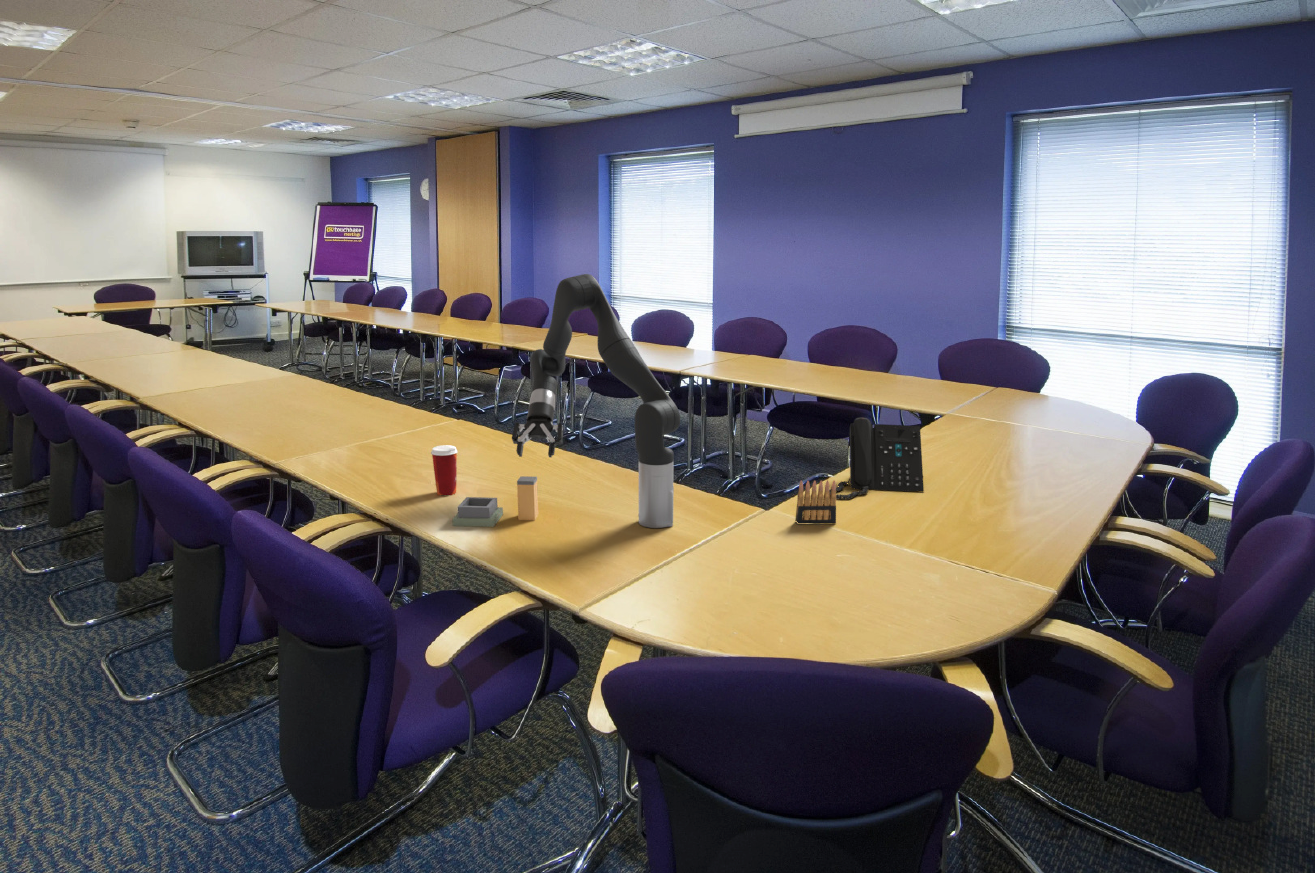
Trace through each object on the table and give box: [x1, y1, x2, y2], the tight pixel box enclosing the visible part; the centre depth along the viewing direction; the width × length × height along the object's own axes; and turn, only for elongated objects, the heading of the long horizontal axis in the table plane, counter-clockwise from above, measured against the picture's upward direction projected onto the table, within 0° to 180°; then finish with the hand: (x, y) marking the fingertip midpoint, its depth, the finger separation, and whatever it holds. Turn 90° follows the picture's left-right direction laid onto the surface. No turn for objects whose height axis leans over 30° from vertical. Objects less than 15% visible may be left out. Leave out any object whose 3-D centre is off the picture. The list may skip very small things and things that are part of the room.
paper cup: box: [430, 444, 458, 496], centre depth 239 cm, size 8×8×14 cm
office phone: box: [829, 417, 925, 500], centre depth 247 cm, size 29×28×20 cm
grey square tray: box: [452, 496, 504, 528], centre depth 217 cm, size 11×10×5 cm
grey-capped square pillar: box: [516, 475, 539, 521], centre depth 219 cm, size 4×4×11 cm
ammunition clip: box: [794, 479, 837, 523], centre depth 216 cm, size 11×2×12 cm, turn 93°
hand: (534, 455), depth 227 cm, fingers open, 8 cm apart
